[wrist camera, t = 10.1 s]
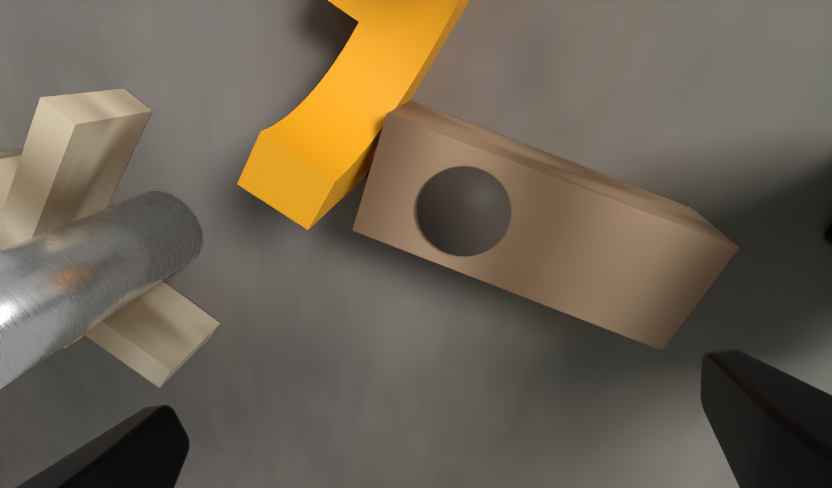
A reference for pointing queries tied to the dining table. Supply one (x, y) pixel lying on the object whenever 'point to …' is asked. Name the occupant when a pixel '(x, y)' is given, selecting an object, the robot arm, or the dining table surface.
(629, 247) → the beam
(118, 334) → the v block
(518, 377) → the dining table surface
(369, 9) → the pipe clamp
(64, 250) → the axle
